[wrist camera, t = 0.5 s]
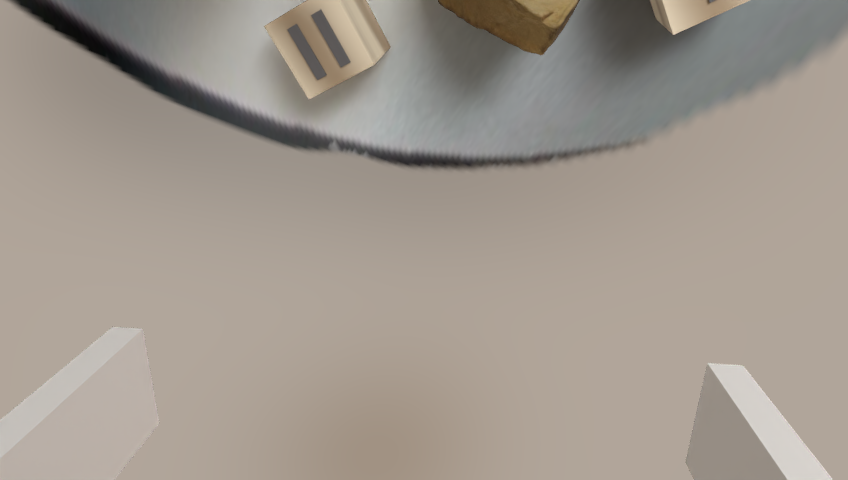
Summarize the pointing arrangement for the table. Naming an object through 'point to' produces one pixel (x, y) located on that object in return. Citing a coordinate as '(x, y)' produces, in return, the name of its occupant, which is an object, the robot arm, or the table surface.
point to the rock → (517, 19)
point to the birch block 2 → (689, 12)
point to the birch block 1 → (328, 42)
